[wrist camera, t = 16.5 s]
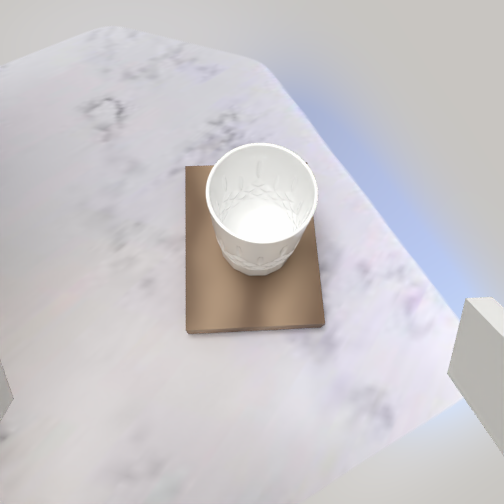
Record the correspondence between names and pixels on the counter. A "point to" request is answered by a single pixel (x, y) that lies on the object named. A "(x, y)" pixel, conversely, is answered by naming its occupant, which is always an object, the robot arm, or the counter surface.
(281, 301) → the walnut board
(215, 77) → the counter surface
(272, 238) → the white cup
